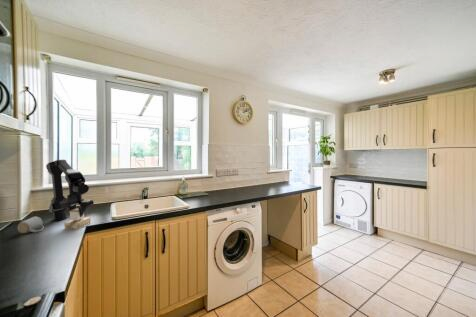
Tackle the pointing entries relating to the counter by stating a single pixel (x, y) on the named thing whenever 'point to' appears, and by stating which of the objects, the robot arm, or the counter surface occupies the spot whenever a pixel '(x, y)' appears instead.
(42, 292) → the counter surface
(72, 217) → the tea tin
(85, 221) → the oak block
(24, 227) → the ceramic mug
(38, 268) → the counter surface
